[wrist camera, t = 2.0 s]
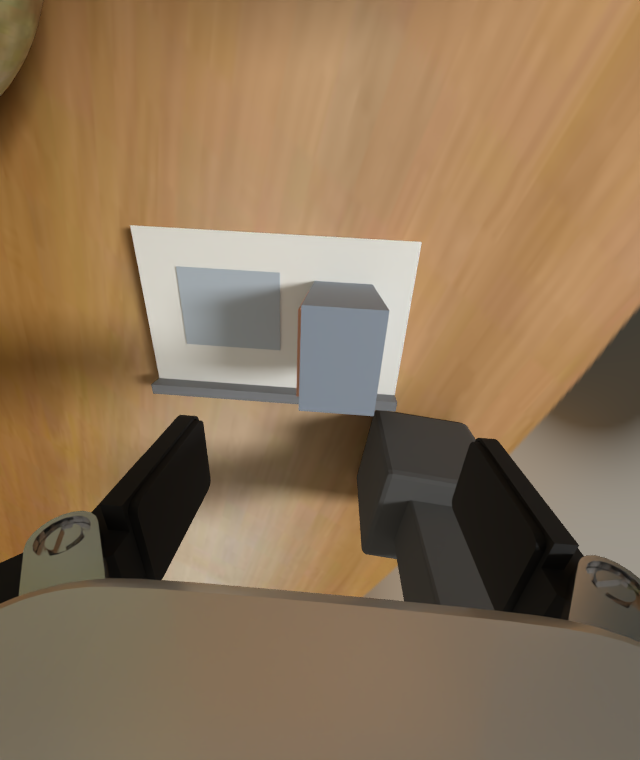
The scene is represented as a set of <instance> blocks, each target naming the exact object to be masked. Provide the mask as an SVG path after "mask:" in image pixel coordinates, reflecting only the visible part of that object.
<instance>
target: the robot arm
mask: <svg viewBox="0 0 640 760" xmlns="http://www.w3.org/2000/svg"><path fill="white" fill-rule="evenodd" d="M209 486H210V471H209V464H208V456H207V448H206V440H205V432H204V425H203V422H202V421H199V419H198V417H197V416H187V415H179V416H178V417H177V418H176V419H175V420H174V421H173V422H172V424H171V425H170V426H169V427H168V428H167V429H166V430H165V431H164V433H163V434H162V435H161V436H160V437H159V438H158V439H157V440H156V441H155V443H154V444H153V445H152V446H151V447H150V448H149V449H148V450H147V452H146V453H145V454H143V456H142V457H141V458H140V459H139V460H138V461H137V462H136V463H135V465H134V466H133V467H132V468H131V469H130V470H129V471H128V472H127V473H126V475H125V476H124V477H123V478H122V479H121V480H120V481H119V482H118V484H117V485H116V486H115V487H114V488H113V489H112V490H111V491H110V492H109V494H108V495H107V496H106V497H105V498H104V499H103V500H102V501H101V503H100V504H99V505H98V506H97V507H96V508H95V509H94V510H93V511H92V513H91V512H86V511H76V512H71V513H67V514H63V515H61V516H59V517H56V518H54V519H52V520H50V521H49V522H47V523H46V524H44V525H43V526H41V527H40V528H39V529H38V530H37V531H35V532H34V533H33V534H32V535H31V537H30V538H29V539H28V541H27V542H26V545H25V548H24V551H23V553H22V554H19V555H17V556H15V557H13V558H10V559H8V560H6V561H4V562H1V563H0V760H640V579H639V578H638V577H637V576H636V575H634V574H633V573H632V572H631V571H629V570H628V569H626V568H625V567H623V566H621V565H620V564H618V563H616V562H614V561H612V560H609V559H607V558H604V557H600V556H596V555H586V556H583V555H582V553H581V552H580V551H579V549H578V546H579V545H578V543H577V542H576V541H575V540H574V538H573V537H572V536H571V534H570V533H569V532H568V531H567V529H566V528H565V527H564V526H563V524H562V523H561V522H560V520H559V519H558V518H557V516H556V515H555V514H554V513H553V511H552V510H551V509H550V507H549V506H548V505H547V504H546V502H545V501H544V500H543V498H542V497H541V496H540V495H539V493H538V492H537V491H536V489H535V488H534V487H533V485H532V484H531V483H530V482H529V480H528V479H527V478H526V476H525V475H524V474H523V473H522V471H521V470H520V469H519V467H518V466H517V465H516V463H515V462H514V461H513V460H512V458H511V457H510V456H509V454H508V453H507V452H506V451H505V449H504V448H503V447H502V445H501V444H500V443H499V442H498V441H497V440H496V439H486V438H477V439H476V440H475V442H471V443H470V445H469V448H468V451H467V454H466V457H465V460H464V463H463V467H462V470H461V473H460V476H459V479H458V482H457V485H456V488H455V491H454V495H453V498H452V509H453V511H454V514H455V516H456V519H457V521H458V524H459V526H460V528H461V531H462V533H463V536H464V538H465V540H466V543H467V545H468V548H469V550H470V552H471V555H472V557H473V560H474V562H475V564H476V567H477V569H478V572H479V574H480V577H481V579H482V581H483V584H484V586H485V589H486V591H487V593H488V596H489V598H490V601H491V603H492V605H493V608H494V610H486V609H477V608H467V607H456V606H446V605H436V604H426V603H416V602H405V601H394V600H385V599H374V598H363V597H353V596H342V595H331V594H320V593H309V592H298V591H287V590H276V589H264V588H253V587H241V586H229V585H218V584H206V583H195V582H180V581H165V580H162V578H163V577H164V575H165V573H166V571H167V569H168V567H169V565H170V563H171V561H172V559H173V557H174V555H175V553H176V551H177V550H178V548H179V546H180V544H181V542H182V540H183V538H184V536H185V534H186V532H187V530H188V528H189V526H190V524H191V522H192V520H193V518H194V517H195V515H196V513H197V511H198V509H199V507H200V505H201V503H202V501H203V499H204V497H205V495H206V493H207V491H208V489H209Z"/></svg>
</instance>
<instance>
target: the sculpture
mask: <svg viewBox="0 0 640 760" xmlns="http://www.w3.org/2000/svg"><path fill="white" fill-rule="evenodd" d="M475 440H476V439H475V438H474V436H473V435H472V433H471V432H470V430H469V429H468V427H467V426H466V425H464V424H462V423H458V422H452V421H446V420H439V419H433V418H427V417H421V416H415V415H409V414H403V413H397V412H390V411H382V410H376V411H375V412H374V416H373V419H372V423H371V427H370V430H369V434H368V438H367V442H366V445H365V449H364V453H363V456H362V460H361V464H360V468H359V471H358V475H357V486H358V501H359V516H360V531H361V545H362V551H363V552H364V553H365V554H368V555H374V556H381V557H387V558H393V559H397V563H398V568H399V574H400V579H401V585H402V591H403V597H404V601H405V602H416V603H426V604H436V605H446V606H456V607H467V608H477V609H486V610H494V608H493V605H492V603H491V601H490V598H489V596H488V593H487V591H486V589H485V586H484V584H483V581H482V579H481V577H480V574H479V572H478V569H477V567H476V564H475V562H474V560H473V557H472V555H471V552H470V550H469V548H468V545H467V543H466V540H465V538H464V536H463V533H462V531H461V528H460V526H459V524H458V521H457V519H456V516H455V514H454V511H453V509H452V498H453V495H454V491H455V488H456V485H457V482H458V479H459V476H460V473H461V470H462V467H463V463H464V460H465V457H466V454H467V451H468V448H469V445H470V443H471V442H475Z"/></svg>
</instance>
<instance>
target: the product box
mask: <svg viewBox="0 0 640 760" xmlns="http://www.w3.org/2000/svg"><path fill="white" fill-rule="evenodd" d="M388 318H389V309H388V308H387V306H386V304H385V303H384V301H383V300H382V298H381V297H380V295H379V294H378V292H377V290H376V289H375V287H374V286H373V284H358V283H341V282H325V281H314V283H313V285H312V286H311V288H310V290H309V291H308V293H307V294H306V296H305V298H304V300H303V302H302V303H301V305H300V307H299V309H298V338H297V386H296V397H299V411H312V412H325V413H338V414H351V415H365V416H374V411H375V405H376V398H377V391H378V385H379V378H380V371H381V364H382V358H383V351H384V344H385V338H386V331H387V324H388Z"/></svg>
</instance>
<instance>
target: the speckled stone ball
mask: <svg viewBox="0 0 640 760" xmlns="http://www.w3.org/2000/svg"><path fill="white" fill-rule="evenodd" d="M43 1H44V0H0V96H1V95H2V94H3V93H4V91H5V90H6V89H7V88H8V86H9V85H10V84H11V82H12V81H13V79H14V78H15V76H16V75H17V73H18V71H19V70H20V68H21V66H22V64H23V63H24V61H25V59H26V57H27V54H28V52H29V50H30V47H31V45H32V43H33V40H34V37H35V34H36V31H37V27H38V24H39V20H40V15H41V10H42V6H43Z"/></svg>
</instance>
